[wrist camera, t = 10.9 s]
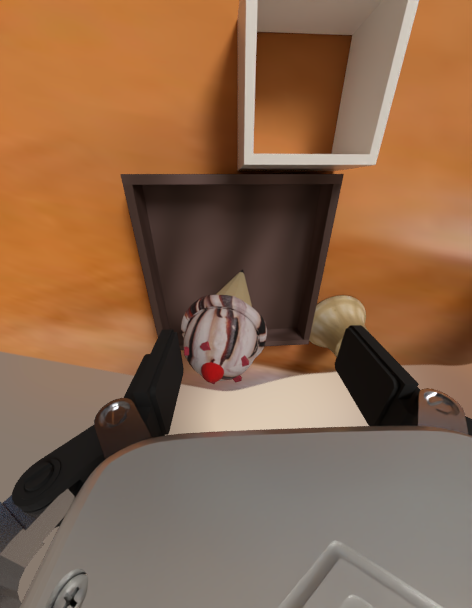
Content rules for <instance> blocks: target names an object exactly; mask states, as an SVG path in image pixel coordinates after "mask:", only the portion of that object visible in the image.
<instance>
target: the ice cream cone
mask: <svg viewBox="0 0 472 608" xmlns="http://www.w3.org/2000/svg"><path fill="white" fill-rule="evenodd" d="M181 334H182V336H183V338H184V356H185V357H186V359H187V360H188V362H189V364H190V365H191V367H192V368H193V369H194V370H195V371H196V372H197V373H199V374H200V375H202V376H203V378H204V379H205V380H206V381H208V382H210V383H212V384H215V382H217V381H223V380H230V379H233V380H234V381H235V382H239V381H241V379H242V377H241V376H240V375H241V374H242V373H244V372H245V371H246V370H247V369H248V368H249V367H250V365H251V364H252V362H253V360H254V358H256V357H257V356H258V355H259V354H260V353H261V351H262V350H263V348H264V346H265V342H266V336H267V328H266V323H265V321H264V319H263V317H262V316H261V315H260V314H259V313H258V312H257V311H256V310H255V309H254V308H252V304H251V300H250V296H249V292H248V288H247V284H246V280H245V276H244V272H243V269H242V270H241V271H240V272H239V273H238V274H237V275H236V276H235V277H234V278H233V279H232V280H231V281H230V282H228V283H227V284H226V285H225V286H224V287H223V288H222V289H221V290H220V291H219V292H218V293H217V294H216V295H207V296H203V297H201V298H199V299H198V300H197V301H195V302H194V303H193V304H192V305H191V306H190V307H189V308H188V309H187V311H186V312H185V314H184V316H183V319H182V324H181Z"/></svg>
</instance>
